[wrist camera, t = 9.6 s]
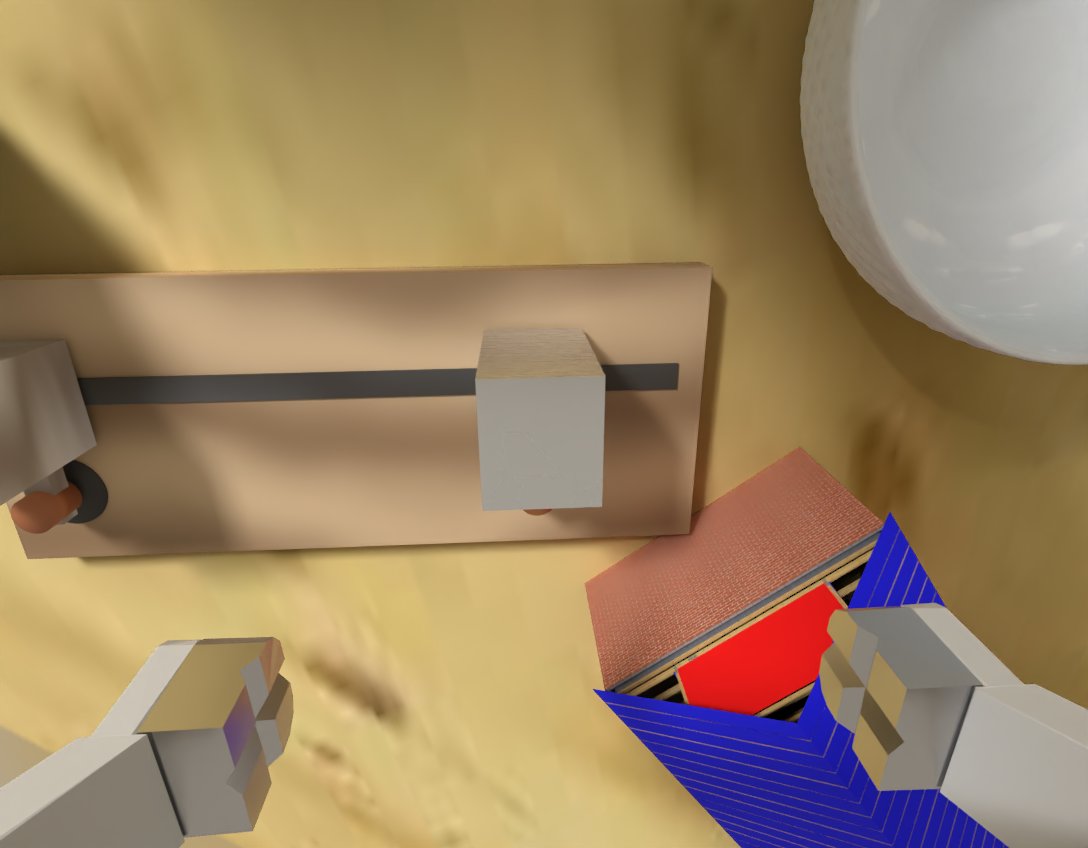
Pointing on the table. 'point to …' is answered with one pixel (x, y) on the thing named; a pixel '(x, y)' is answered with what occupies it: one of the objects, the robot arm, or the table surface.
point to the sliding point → (539, 420)
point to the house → (764, 663)
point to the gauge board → (324, 404)
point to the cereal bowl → (958, 162)
